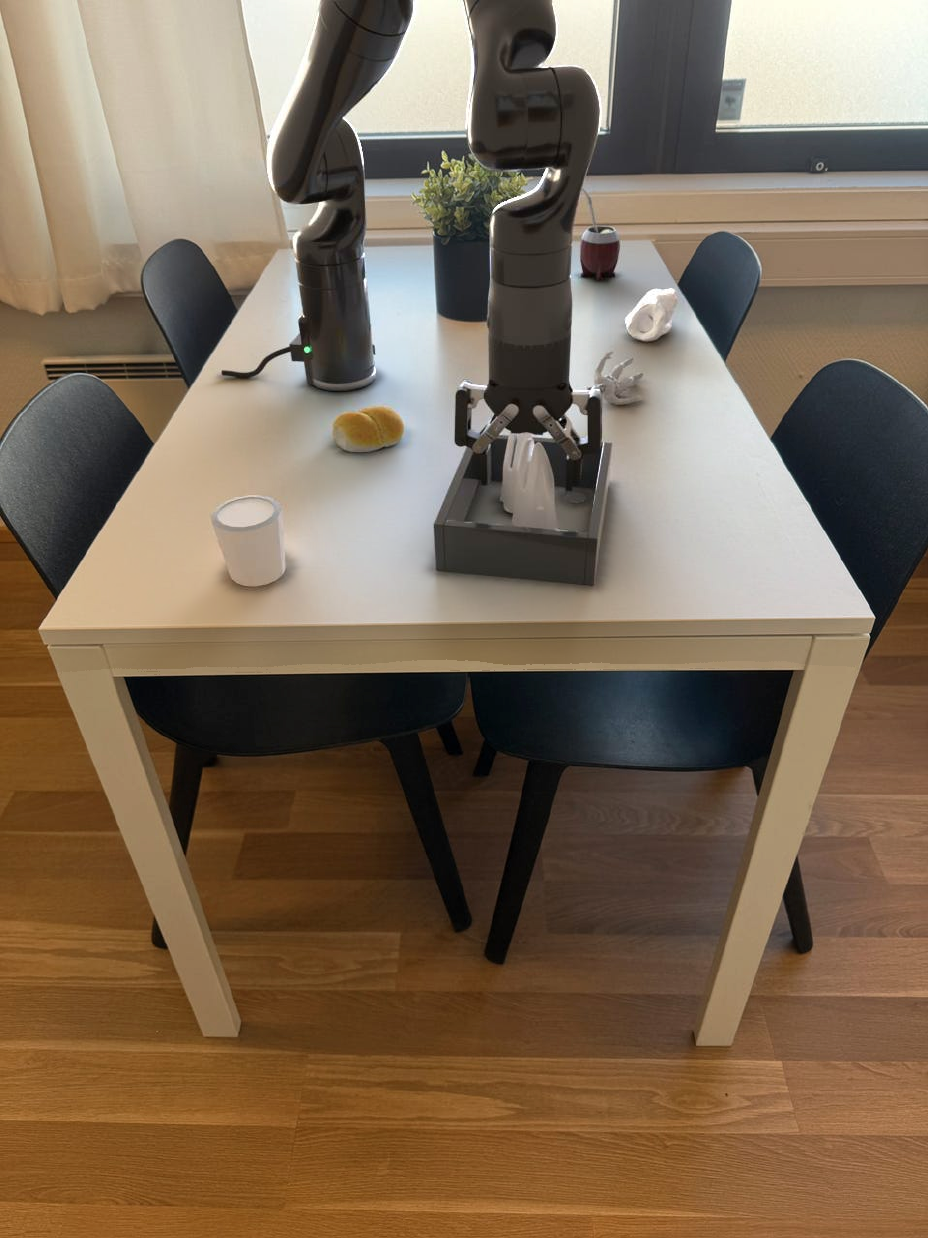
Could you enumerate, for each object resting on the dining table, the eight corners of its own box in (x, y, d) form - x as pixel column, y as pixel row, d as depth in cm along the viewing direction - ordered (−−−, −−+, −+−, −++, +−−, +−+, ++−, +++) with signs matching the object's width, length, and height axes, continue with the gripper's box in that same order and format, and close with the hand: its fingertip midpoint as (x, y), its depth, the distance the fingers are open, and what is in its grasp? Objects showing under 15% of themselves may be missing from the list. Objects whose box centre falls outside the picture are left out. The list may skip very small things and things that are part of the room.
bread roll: (415, 441, 113) (414, 411, 110) (353, 460, 109) (350, 430, 106) (384, 417, 118) (382, 389, 116) (323, 435, 114) (319, 406, 112)
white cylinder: (228, 554, 93) (215, 496, 89) (294, 549, 94) (284, 491, 89) (219, 592, 88) (205, 533, 84) (289, 587, 88) (278, 528, 84)
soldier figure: (655, 392, 125) (636, 399, 114) (627, 412, 127) (606, 421, 117) (625, 346, 124) (603, 348, 114) (597, 367, 127) (573, 372, 116)
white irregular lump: (650, 314, 147) (685, 276, 141) (666, 367, 141) (704, 329, 135) (609, 297, 143) (643, 256, 137) (625, 350, 137) (661, 310, 131)
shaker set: (560, 553, 92) (565, 457, 85) (520, 557, 91) (522, 461, 85) (534, 495, 101) (536, 404, 94) (498, 499, 101) (498, 408, 94)
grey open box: (435, 570, 90) (433, 524, 87) (473, 474, 105) (472, 432, 102) (593, 585, 87) (597, 538, 84) (608, 485, 103) (612, 442, 99)
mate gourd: (619, 281, 160) (626, 191, 151) (575, 282, 160) (580, 192, 151) (614, 268, 166) (621, 181, 157) (572, 269, 166) (576, 182, 157)
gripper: (612, 315, 82) (600, 472, 92) (460, 309, 84) (465, 463, 94) (606, 345, 76) (594, 509, 86) (443, 338, 78) (451, 498, 88)
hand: (527, 485), depth 90 cm, fingers open, 8 cm apart
